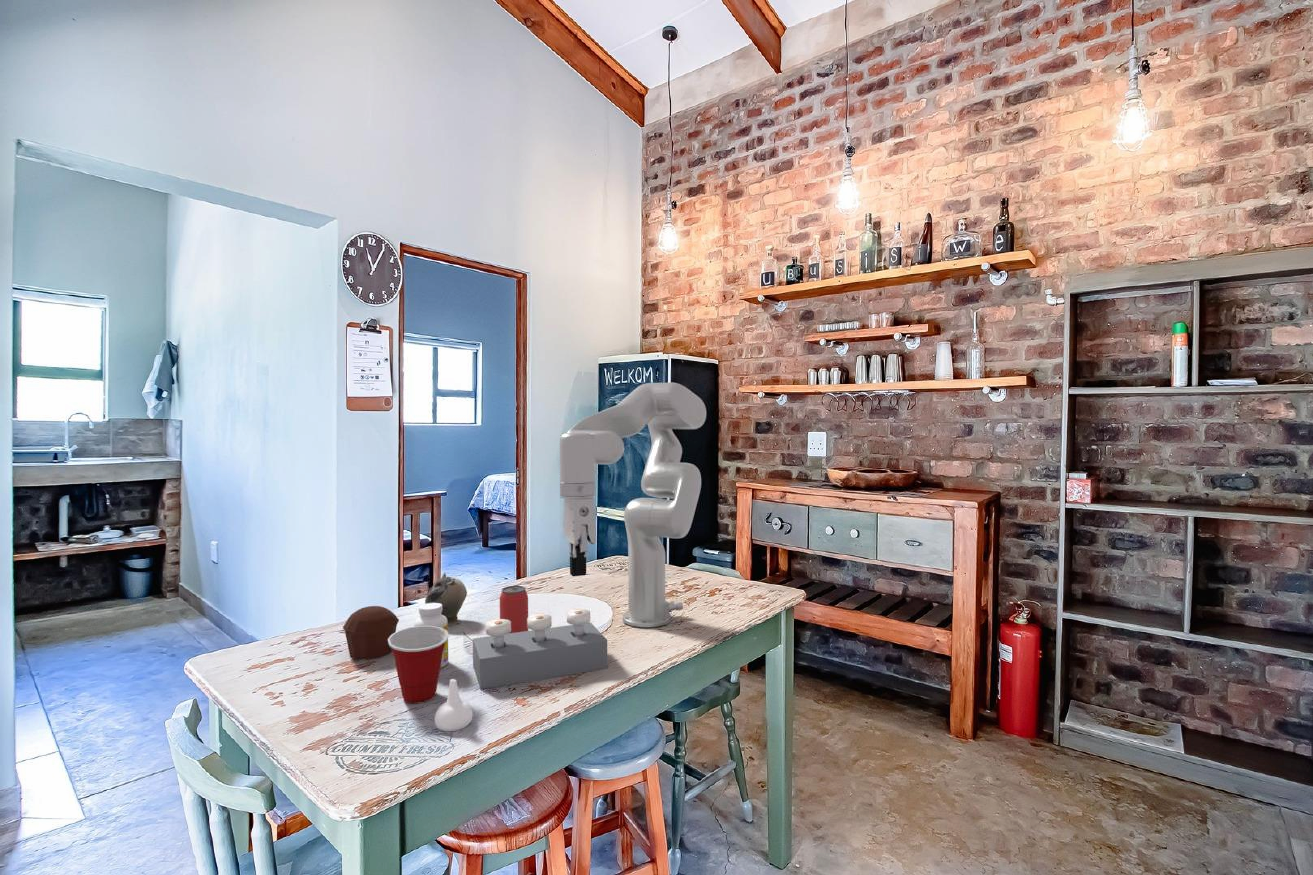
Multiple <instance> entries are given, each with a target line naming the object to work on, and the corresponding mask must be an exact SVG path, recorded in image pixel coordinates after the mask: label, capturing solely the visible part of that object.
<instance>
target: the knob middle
mask: <svg viewBox="0 0 1313 875" xmlns="http://www.w3.org/2000/svg"><path fill="white" fill-rule="evenodd" d="M552 618H553V617H552V616H551V615H550V614H547V613H536V614H531V615H528V618H527V627H528V630H529V631H531V630H534V643H536V642H543V641H545V629H548V628H552V624H553V622H552Z"/></svg>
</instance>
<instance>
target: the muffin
mask: <svg viewBox="0 0 1313 875" xmlns="http://www.w3.org/2000/svg"><path fill="white" fill-rule="evenodd" d="M399 622H400V619H399V618H398V616H397V615H396V614H395V613H394V612H393V611H391V610H390V609H389V608H387V607H384V606H380V605H371V606H365V607H361V608H359V609H357V610H356V611H354V612H353V613H351V614H350V616H349V617H348V619H347V620H346V621H345V623H344V625H343V626H342V629H343V630H344V633H345V639H346V643H347V649H348V653H349V654H348V655H349V656H350V657H351V658H353V659H354V660H365V661H369V660H372V659H380V658H382V657H384V656H387V655H390V654H391V653H392V649H391V647H390V646H389V643H388V638H389V637H390V636H391V635H392V634H394V633H395V632H397V625H398V624H399Z"/></svg>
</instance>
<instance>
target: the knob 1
mask: <svg viewBox="0 0 1313 875" xmlns="http://www.w3.org/2000/svg"><path fill="white" fill-rule="evenodd" d="M510 632H511V621H510V620H506V619H500V618H497V619H491V620H489V621H487V622H485V634H486V635H487V636H493V649H494V648H501V647H504V635H506V634H508V633H510Z"/></svg>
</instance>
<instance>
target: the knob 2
mask: <svg viewBox="0 0 1313 875" xmlns="http://www.w3.org/2000/svg"><path fill="white" fill-rule="evenodd" d="M566 622H567V624H568V625H574V637H577V636H584V624H587V623H590V622H591V611H590V610H589V609H585V608H576V609H575V608H574V609H570V610H568V611H567V613H566Z"/></svg>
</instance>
